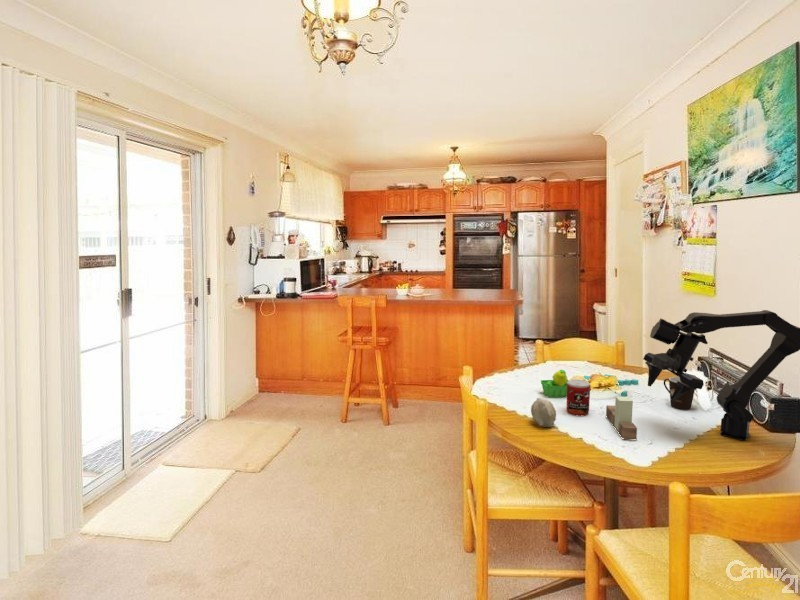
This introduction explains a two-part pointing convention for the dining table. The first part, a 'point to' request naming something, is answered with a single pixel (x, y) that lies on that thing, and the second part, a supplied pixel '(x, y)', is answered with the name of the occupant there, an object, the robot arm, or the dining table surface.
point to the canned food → (578, 397)
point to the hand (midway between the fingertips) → (660, 393)
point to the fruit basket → (556, 385)
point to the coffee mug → (684, 400)
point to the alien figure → (621, 383)
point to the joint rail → (622, 424)
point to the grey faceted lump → (543, 412)
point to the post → (623, 410)
